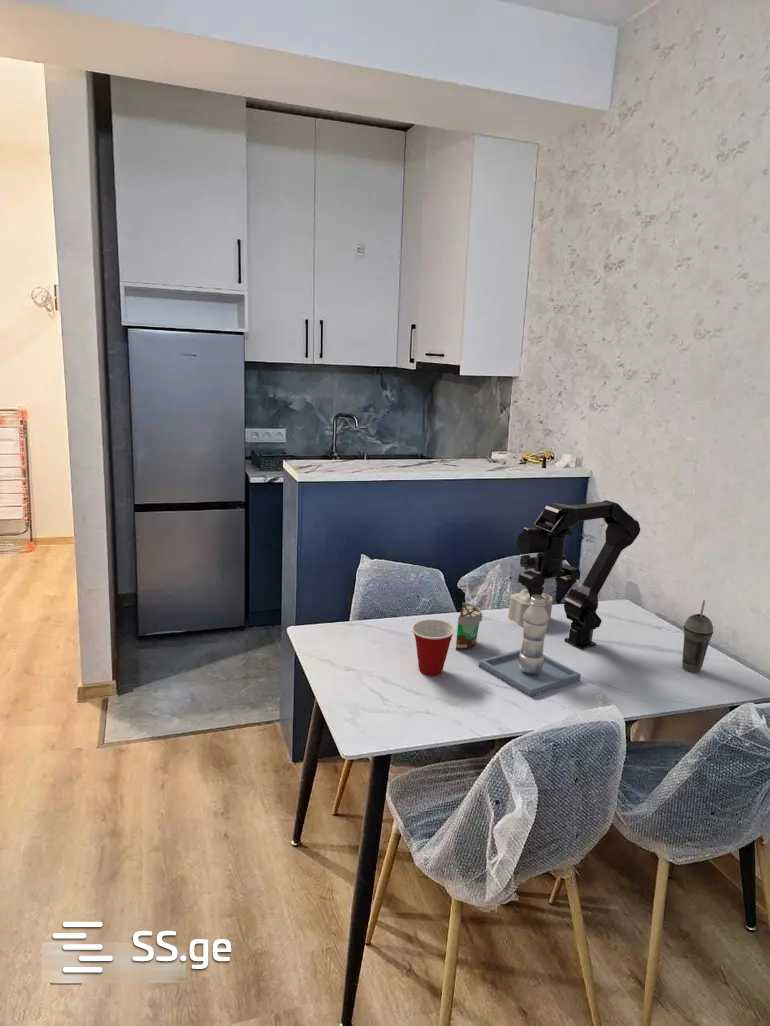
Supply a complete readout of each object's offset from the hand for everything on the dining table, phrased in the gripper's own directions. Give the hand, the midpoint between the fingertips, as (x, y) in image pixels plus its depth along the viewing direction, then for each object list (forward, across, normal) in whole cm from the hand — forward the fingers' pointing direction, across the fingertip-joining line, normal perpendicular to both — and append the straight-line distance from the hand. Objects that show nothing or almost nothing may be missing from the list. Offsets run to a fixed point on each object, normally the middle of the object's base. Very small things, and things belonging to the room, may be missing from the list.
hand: (546, 605), depth 190 cm
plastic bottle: (+13, +14, +9) cm, 21 cm away
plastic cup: (+13, +36, -4) cm, 39 cm away
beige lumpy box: (+13, -14, -18) cm, 26 cm away
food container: (+13, +16, -12) cm, 24 cm away
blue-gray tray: (+13, +14, +9) cm, 21 cm away
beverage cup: (+13, -28, +28) cm, 42 cm away
